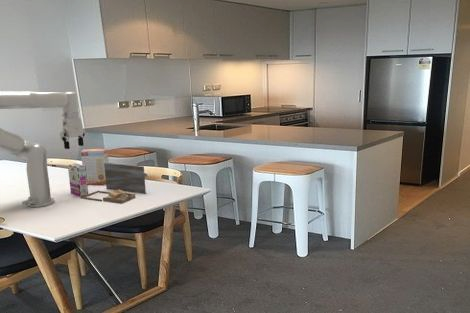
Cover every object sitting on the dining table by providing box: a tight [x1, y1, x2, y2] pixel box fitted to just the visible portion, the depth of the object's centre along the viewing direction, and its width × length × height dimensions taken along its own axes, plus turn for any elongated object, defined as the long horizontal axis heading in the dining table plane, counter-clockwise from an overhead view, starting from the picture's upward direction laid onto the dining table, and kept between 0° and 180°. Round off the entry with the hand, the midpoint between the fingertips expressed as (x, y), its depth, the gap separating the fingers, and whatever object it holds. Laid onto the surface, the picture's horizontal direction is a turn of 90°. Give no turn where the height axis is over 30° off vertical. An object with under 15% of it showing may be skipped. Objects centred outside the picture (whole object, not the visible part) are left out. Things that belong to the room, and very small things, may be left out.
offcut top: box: [107, 190, 127, 199], centre depth 207 cm, size 6×8×2 cm
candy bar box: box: [67, 163, 89, 198], centre depth 221 cm, size 11×5×16 cm, turn 49°
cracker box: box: [80, 148, 109, 186], centre depth 241 cm, size 14×6×21 cm, turn 84°
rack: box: [80, 162, 147, 205], centre depth 213 cm, size 20×26×16 cm
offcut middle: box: [105, 194, 129, 200], centre depth 208 cm, size 7×9×2 cm
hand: (74, 147), depth 218 cm, fingers open, 9 cm apart
